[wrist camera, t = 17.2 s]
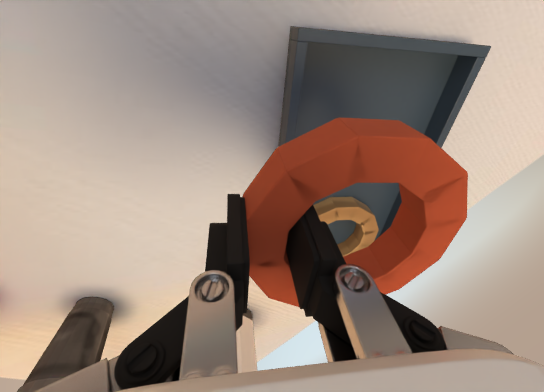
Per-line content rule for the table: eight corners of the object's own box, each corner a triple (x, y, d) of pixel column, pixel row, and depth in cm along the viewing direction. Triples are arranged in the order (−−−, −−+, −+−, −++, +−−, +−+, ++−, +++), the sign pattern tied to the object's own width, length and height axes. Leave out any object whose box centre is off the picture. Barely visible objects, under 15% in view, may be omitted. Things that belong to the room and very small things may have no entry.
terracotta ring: (244, 112, 9) (247, 131, 8) (474, 123, 11) (518, 141, 9) (240, 283, 15) (241, 316, 13) (393, 274, 16) (412, 302, 15)
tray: (290, 26, 19) (298, 27, 17) (466, 43, 22) (492, 46, 20) (266, 267, 35) (268, 283, 33) (370, 260, 37) (378, 274, 35)
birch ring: (299, 197, 28) (303, 208, 26) (380, 195, 29) (389, 206, 28) (288, 258, 33) (292, 270, 32) (357, 253, 35) (364, 265, 33)
